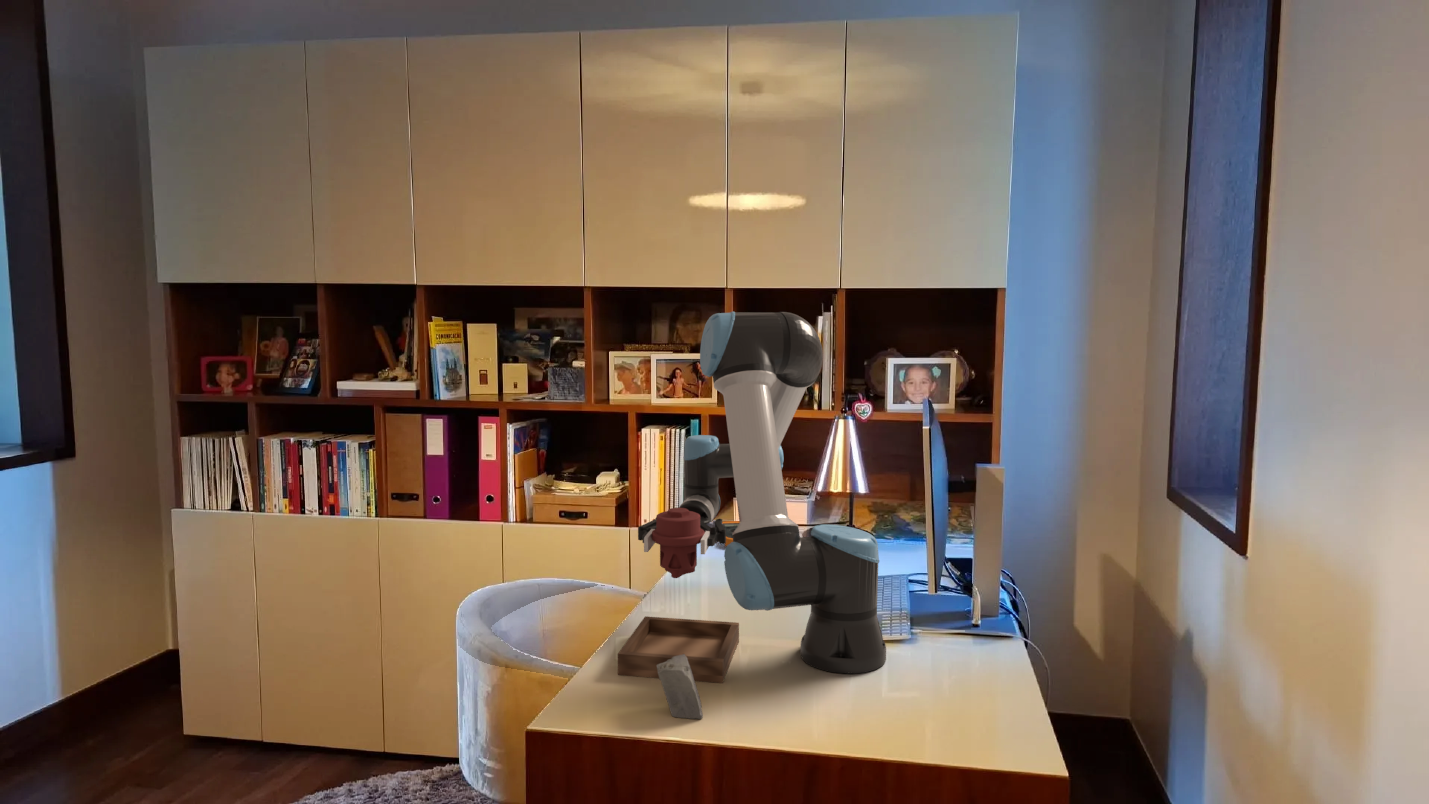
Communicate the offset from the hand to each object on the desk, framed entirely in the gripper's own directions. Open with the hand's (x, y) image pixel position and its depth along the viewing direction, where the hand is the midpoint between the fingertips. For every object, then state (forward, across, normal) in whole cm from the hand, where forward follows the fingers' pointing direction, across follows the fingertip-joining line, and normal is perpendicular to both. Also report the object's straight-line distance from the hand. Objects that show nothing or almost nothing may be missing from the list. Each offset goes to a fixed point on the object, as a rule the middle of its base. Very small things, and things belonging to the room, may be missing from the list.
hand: (674, 546), depth 162 cm
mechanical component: (-4, 0, -7) cm, 8 cm away
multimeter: (-70, -4, -18) cm, 72 cm away
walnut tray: (+8, -3, -18) cm, 20 cm away
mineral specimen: (+28, -6, -18) cm, 34 cm away
